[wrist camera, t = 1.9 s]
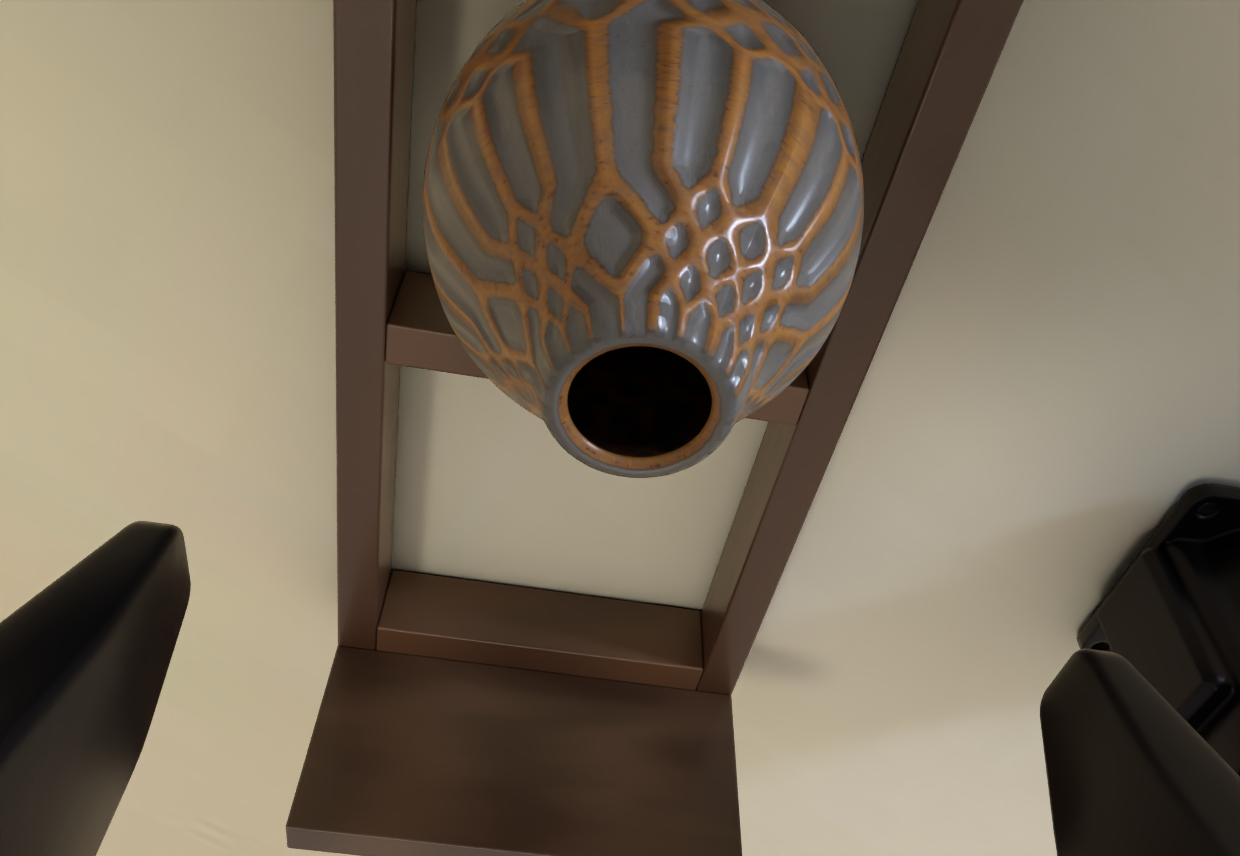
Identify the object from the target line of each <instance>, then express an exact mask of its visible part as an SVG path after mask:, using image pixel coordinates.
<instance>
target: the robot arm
mask: <svg viewBox="0 0 1240 856" xmlns="http://www.w3.org/2000/svg"><path fill="white" fill-rule="evenodd" d="M1203 504H1204V505H1203ZM190 586H191V582H190V575H189V568H188V562H187V555H186V548H185V542H184V536H183V533H182V531H181V530H180V528H179V527H177V526H174V525H170V524H162V523H155V522H148V521H137V522H134V523H132V524H130V525H128V526H127V527H125V528H124V529H123V530H121V531H120V532H119V533H117V534H116V535H115V536H114V537H112V538H111V539H110V540H108V541H107V542H106V543H104V544H103V545H102V546H100V547H99V548H98V549H96V550H95V551H94V552H93V553H91V554H90V555H89V556H87V557H86V558H85V559H83V560H82V561H81V562H79V563H78V564H77V565H75V566H74V567H73V568H72V569H70V570H69V571H68V572H66V573H65V574H64V575H62V576H61V577H60V578H58V579H57V580H56V581H54V582H53V583H52V584H51V585H49V586H48V587H47V588H45V589H44V590H43V591H41V592H40V593H39V594H37V595H36V596H35V597H34V598H32V599H31V600H30V601H28V602H27V603H26V604H24V605H23V606H22V607H20V608H19V609H18V610H16V611H15V612H14V613H13V614H11V615H10V616H9V617H7V618H6V619H5V620H3V621H2V622H1V623H0V856H96V854H97V852H98V849H99V847H100V845H101V843H102V840H103V838H104V836H105V834H106V831H107V829H108V827H109V825H110V822H111V820H112V818H113V816H114V813H115V811H116V809H117V807H118V804H119V802H120V800H121V798H122V795H123V793H124V791H125V789H126V786H127V784H128V782H129V780H130V778H131V775H132V773H133V771H134V768H135V766H136V763H137V761H138V758H139V756H140V754H141V751H142V749H143V746H144V743H145V740H146V737H147V734H148V731H149V728H150V724H151V721H152V718H153V715H154V712H155V708H156V705H157V702H158V699H159V696H160V692H161V689H162V686H163V683H164V680H165V676H166V673H167V670H168V667H169V663H170V660H171V657H172V654H173V651H174V647H175V644H176V641H177V638H178V635H179V631H180V628H181V625H182V622H183V619H184V615H185V612H186V609H187V605H188V601H189V596H190ZM1077 641H1078V644H1079V647H1080V649H1081V650H1079V651H1077V652H1075V653H1074V654H1073V655H1072V656H1071V657H1070V659H1069V660H1068V661H1067V663H1066V664H1065V665H1064V667H1063V668H1062V669H1061V671H1060V672H1059V673H1058V675H1057V676H1056V677H1055V679H1054V680H1053V681H1052V683H1051V684H1050V685H1049V687H1048V688H1047V689H1046V691H1045V693H1044V695H1043V698H1042V700H1041V705H1040V720H1041V729H1042V737H1043V745H1044V754H1045V762H1046V771H1047V779H1048V787H1049V796H1050V804H1051V812H1052V821H1053V829H1054V836H1055V843H1056V849H1057V856H1240V488H1238V487H1232V486H1225V485H1219V484H1201V485H1197V486H1195V487H1193V488H1191V489H1189V490H1188V491H1187V492H1185V493H1184V494H1183V495H1182V497H1181V498H1180V499H1179V501H1178V502H1177V503H1176V505H1175V506H1174V507H1173V509H1172V510H1171V511H1170V513H1169V514H1168V515H1167V517H1166V518H1165V519H1164V521H1163V522H1162V523H1161V525H1160V526H1159V527H1158V529H1157V530H1156V531H1155V533H1154V534H1153V535H1152V537H1151V538H1150V539H1149V541H1148V542H1147V543H1146V545H1145V546H1144V547H1143V549H1142V550H1141V551H1140V553H1139V554H1138V555H1137V557H1136V558H1135V559H1134V561H1133V562H1132V563H1131V565H1130V566H1129V567H1128V569H1127V570H1126V571H1125V573H1124V574H1123V575H1122V577H1121V578H1120V579H1119V581H1118V582H1117V583H1116V585H1115V586H1114V587H1113V589H1112V590H1111V591H1110V593H1109V594H1108V595H1107V597H1106V598H1105V599H1104V601H1103V602H1102V603H1101V605H1100V606H1099V608H1098V609H1097V610H1096V612H1095V613H1094V614H1093V616H1092V617H1091V618H1090V620H1089V621H1088V622H1087V624H1086V625H1085V626H1084V628H1083V629H1082V630H1081V632H1080V633H1079V634H1078V637H1077Z"/></svg>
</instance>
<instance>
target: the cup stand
mask: <svg viewBox="0 0 1240 856" xmlns="http://www.w3.org/2000/svg"><path fill="white" fill-rule="evenodd" d="M1022 2H1023V0H919V2H918V5H917V8H916V11H915V14H914V17H913V19H912V22H911V25H910V28H909V31H908V33H907V36H906V39H905V42H904V45H903V47H902V50H901V53H900V56H899V59H898V61H897V64H896V67H895V70H894V73H893V76H892V78H891V81H890V84H889V87H888V90H887V92H886V95H885V98H884V101H883V104H882V106H881V109H880V112H879V115H878V118H877V120H876V123H875V126H874V129H873V132H872V134H871V137H870V140H869V143H868V146H867V149H866V151H865V154H864V157H863V160H862V163H861V166H862V173H863V186H864V221H863V229H862V237H861V244H860V251H859V255H858V260H857V265H856V268H855V272H854V276H853V280H852V283H851V286H850V289H849V292H848V295H847V297H846V300H845V302H844V305H843V307H842V310H841V312H840V315H839V317H838V319H837V321H836V323H835V325H834V327H833V329H832V330H831V332H830V334H829V335H828V337H827V339H826V340H825V342H824V344H823V345H822V347H821V348H820V350H819V351H818V353H817V354H816V355H815V357H814V358H813V360H812V361H811V362H810V363H809V364H808V366H807V367H806V368H805V369H804V370H803V371H802V372H801V373H800V374H799V375H798V377H797V378H796V379H795V380H794V381H793V382H792V383H791V384H790V385H789V386H788V387H787V388H785V389H784V390H783V391H782V392H781V393H780V394H778V395H777V396H776V397H775V398H773V399H772V400H771V401H769V402H768V403H767V404H765V405H764V406H762V407H761V408H759V409H758V410H756V411H755V412H753V413H752V414H750V415H749V416H747V417H745V418H750V419H757V420H764V421H769V424H768V427H767V429H766V432H765V435H764V438H763V441H762V443H761V446H760V449H759V452H758V455H757V458H756V460H755V463H754V466H753V469H752V472H751V474H750V477H749V480H748V483H747V486H746V488H745V491H744V494H743V497H742V500H741V502H740V505H739V508H738V511H737V514H736V517H735V519H734V522H733V525H732V528H731V531H730V533H729V536H728V539H727V542H726V545H725V547H724V550H723V553H722V556H721V559H720V561H719V564H718V567H717V570H716V573H715V575H714V578H713V581H712V584H711V587H710V590H709V592H708V595H707V598H706V601H705V604H704V606H703V609H702V612H700V611H697V610H689V609H682V608H674V607H667V606H659V605H652V604H644V603H637V602H629V601H622V600H614V599H607V598H599V597H592V596H584V595H577V594H569V593H562V592H554V591H547V590H539V589H532V588H524V587H517V586H509V585H502V584H494V583H487V582H479V581H472V580H464V579H457V578H449V577H442V576H434V575H427V574H419V573H412V572H404V571H397V570H392V572H391V561H392V539H393V516H394V493H395V471H396V448H397V426H398V403H399V380H400V365H402V366H409V367H415V368H422V369H428V370H435V371H441V372H448V373H455V374H461V375H468V376H474V377H481V378H487V379H489V378H488V377H487V376H486V375H485V374H484V373H483V372H482V370H481V369H480V368H479V367H478V366H477V365H476V363H475V362H474V361H473V360H472V358H471V357H470V356H469V354H468V353H467V352H466V350H465V349H464V347H463V346H462V344H461V342H460V341H459V339H458V337H457V335H456V334H455V332H454V330H453V328H452V327H451V325H450V323H449V321H448V319H447V316H446V314H445V312H444V310H443V307H442V304H441V302H440V299H439V296H438V293H437V291H436V288H435V285H434V281H433V277H432V275H428V274H422V273H416V272H410V271H406V272H405V273H404V267H405V244H406V222H407V199H408V177H409V154H410V131H411V109H412V86H413V63H414V41H415V18H416V0H333V31H334V168H335V306H336V443H337V580H338V647H337V651H336V654H335V657H334V661H333V664H332V668H331V671H330V675H329V678H328V682H327V685H326V689H325V692H324V696H323V699H322V703H321V706H320V709H319V713H318V716H317V720H316V723H315V727H314V730H313V734H312V737H311V741H310V744H309V748H308V751H307V755H306V758H305V762H304V765H303V768H302V772H301V775H300V779H299V782H298V786H297V789H296V793H295V796H294V800H293V803H292V807H291V810H290V814H289V817H288V821H287V824H286V834H287V846H288V848H295V849H304V850H314V851H323V852H332V853H342V854H351V855H361V856H742V845H741V831H740V816H739V802H738V787H737V773H736V758H735V744H734V729H733V715H732V700H731V694H732V692H733V689H734V687H735V685H736V682H737V680H738V678H739V675H740V673H741V670H742V668H743V666H744V663H745V661H746V659H747V656H748V654H749V651H750V649H751V647H752V644H753V642H754V640H755V637H756V635H757V632H758V630H759V628H760V625H761V623H762V620H763V618H764V616H765V613H766V611H767V609H768V606H769V604H770V601H771V599H772V597H773V594H774V592H775V590H776V587H777V585H778V582H779V580H780V578H781V575H782V573H783V571H784V568H785V566H786V563H787V561H788V559H789V556H790V554H791V552H792V549H793V547H794V544H795V542H796V540H797V537H798V535H799V532H800V530H801V528H802V525H803V523H804V521H805V518H806V516H807V513H808V511H809V509H810V506H811V504H812V502H813V499H814V497H815V494H816V492H817V490H818V487H819V485H820V483H821V480H822V478H823V475H824V473H825V471H826V468H827V466H828V464H829V461H830V459H831V456H832V454H833V452H834V449H835V447H836V445H837V442H838V440H839V437H840V435H841V433H842V430H843V428H844V425H845V423H846V421H847V418H848V416H849V414H850V411H851V409H852V406H853V404H854V402H855V399H856V397H857V395H858V392H859V390H860V387H861V385H862V383H863V380H864V378H865V376H866V373H867V371H868V368H869V366H870V364H871V361H872V359H873V357H874V354H875V352H876V349H877V347H878V345H879V342H880V340H881V337H882V335H883V333H884V330H885V328H886V326H887V323H888V321H889V318H890V316H891V314H892V311H893V309H894V307H895V304H896V302H897V299H898V297H899V295H900V292H901V290H902V288H903V285H904V283H905V280H906V278H907V276H908V273H909V271H910V269H911V266H912V264H913V261H914V259H915V257H916V254H917V252H918V249H919V247H920V245H921V242H922V240H923V238H924V235H925V233H926V230H927V228H928V226H929V223H930V221H931V219H932V216H933V214H934V211H935V209H936V207H937V204H938V202H939V200H940V197H941V195H942V192H943V190H944V188H945V185H946V183H947V181H948V178H949V176H950V173H951V171H952V169H953V166H954V164H955V162H956V159H957V157H958V154H959V152H960V150H961V147H962V145H963V142H964V140H965V138H966V135H967V133H968V131H969V128H970V126H971V123H972V121H973V119H974V116H975V114H976V112H977V109H978V107H979V104H980V102H981V100H982V97H983V95H984V93H985V90H986V88H987V85H988V83H989V81H990V78H991V76H992V74H993V71H994V69H995V66H996V64H997V62H998V59H999V57H1000V54H1001V52H1002V50H1003V47H1004V45H1005V43H1006V40H1007V38H1008V35H1009V33H1010V31H1011V28H1012V26H1013V24H1014V21H1015V19H1016V16H1017V14H1018V12H1019V9H1020V7H1021V5H1022Z"/></svg>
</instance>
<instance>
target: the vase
mask: <svg viewBox="0 0 1240 856" xmlns="http://www.w3.org/2000/svg"><path fill="white" fill-rule="evenodd" d="M422 215H423V227H424V236H425V245H426V251H427V256H428V261H429V265H430V270H431V274H432V277H433V281H434V285H435V288H436V291H437V293H438V296H439V299H440V302H441V304H442V307H443V310H444V312H445V314H446V316H447V319H448V321H449V323H450V325H451V327H452V328H453V330H454V332H455V334H456V335H457V337H458V339H459V341H460V342H461V344H462V346H463V347H464V349H465V350H466V352H467V353H468V354H469V356H470V357H471V358H472V360H473V361H474V362H475V363H476V365H477V366H478V367H479V368H480V369H481V370H482V372H483V373H484V374H485V375H486V376H487V377H488V378H489V379H490V380H491V381H492V382H493V383H494V384H495V385H496V386H497V387H498V388H499V389H500V390H501V391H502V392H504V393H505V394H506V395H507V396H509V397H510V398H511V399H512V400H514V401H515V402H516V403H518V404H519V405H520V406H522V407H523V408H525V409H526V410H528V411H529V412H531V413H532V414H534V415H536V416H537V417H539V418H541V419H542V420H544V422H545V424H546V425H547V427H548V429H549V431H550V432H551V434H552V435H553V437H554V438H555V439H556V441H557V442H558V443H559V444H560V445H561V446H562V447H563V448H564V449H565V450H566V451H567V452H568V453H569V454H570V455H572V456H573V457H574V458H576V459H577V460H579V461H580V462H582V463H584V464H586V465H588V466H590V467H592V468H594V469H596V470H599V471H602V472H605V473H608V474H612V475H617V476H623V477H632V478H648V477H658V476H664V475H668V474H672V473H676V472H679V471H681V470H684V469H687V468H689V467H691V466H693V465H695V464H697V463H698V462H700V461H702V460H703V459H705V458H706V457H707V456H709V455H710V454H711V453H712V452H713V451H715V450H716V449H717V447H718V446H719V445H720V444H721V443H722V442H723V441H724V439H725V438H726V437H727V435H728V434H729V432H730V431H731V429H732V427H733V426H734V424H735V423H736V422H738V421H740V420H742V419H743V418H745V417H747V416H749V415H750V414H752V413H753V412H755V411H756V410H758V409H759V408H761V407H762V406H764V405H765V404H767V403H768V402H769V401H771V400H772V399H773V398H775V397H776V396H777V395H778V394H780V393H781V392H782V391H783V390H784V389H785V388H787V387H788V386H789V385H790V384H791V383H792V382H793V381H794V380H795V379H796V378H797V377H798V375H799V374H800V373H801V372H802V371H803V370H804V369H805V368H806V367H807V366H808V364H809V363H810V362H811V361H812V360H813V358H814V357H815V355H816V354H817V353H818V351H819V350H820V348H821V347H822V345H823V344H824V342H825V340H826V339H827V337H828V335H829V334H830V332H831V330H832V329H833V327H834V325H835V323H836V321H837V319H838V317H839V315H840V312H841V310H842V307H843V305H844V302H845V300H846V297H847V295H848V292H849V289H850V286H851V283H852V280H853V276H854V272H855V268H856V265H857V260H858V255H859V251H860V244H861V237H862V229H863V221H864V186H863V173H862V166H861V159H860V155H859V151H858V147H857V142H856V138H855V134H854V131H853V128H852V125H851V122H850V118H849V115H848V113H847V111H846V108H845V106H844V104H843V102H842V99H841V97H840V95H839V92H838V90H837V88H836V86H835V84H834V82H833V80H832V78H831V77H830V75H829V73H828V71H827V70H826V68H825V67H824V65H823V63H822V62H821V60H820V59H819V57H818V56H817V54H816V53H815V51H814V50H813V48H812V47H811V46H810V45H809V43H808V42H807V41H806V40H805V38H804V37H803V36H802V35H801V34H800V32H799V31H798V30H797V29H796V28H795V27H794V26H793V25H792V24H791V23H790V22H788V21H787V20H786V19H785V18H784V17H783V16H782V15H781V14H779V13H778V12H777V11H775V10H774V9H773V8H772V7H770V6H769V5H768V4H766V3H765V2H764V1H762V0H527V1H525V2H524V3H522V4H521V5H520V6H518V7H517V8H515V9H514V10H513V11H512V12H510V13H509V14H508V15H507V16H506V17H504V18H503V19H502V20H501V21H500V22H499V23H498V24H497V25H496V26H495V27H494V28H493V29H492V30H491V31H490V32H489V33H488V34H487V35H486V37H485V38H484V39H483V40H482V41H481V43H480V44H479V45H478V46H477V48H476V49H475V51H474V52H473V53H472V55H471V56H470V58H469V59H468V61H467V62H466V64H465V65H464V67H463V68H462V70H461V71H460V73H459V75H458V77H457V78H456V80H455V82H454V84H453V86H452V88H451V90H450V92H449V94H448V96H447V99H446V101H445V103H444V105H443V107H442V109H441V112H440V114H439V117H438V120H437V123H436V125H435V128H434V132H433V136H432V139H431V143H430V147H429V151H428V154H427V159H426V165H425V171H424V182H423V199H422Z"/></svg>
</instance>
